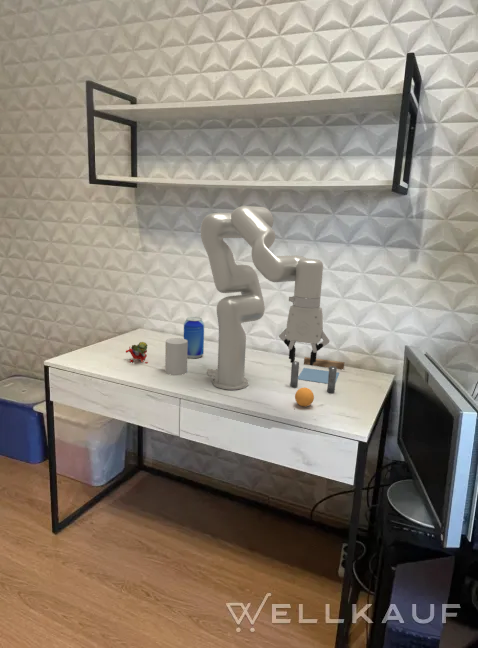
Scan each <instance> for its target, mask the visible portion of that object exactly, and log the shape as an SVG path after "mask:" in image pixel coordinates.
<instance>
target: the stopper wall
mask: <svg viewBox="0 0 478 648" xmlns="http://www.w3.org/2000/svg"><path fill="white" fill-rule="evenodd" d="M303 365H306V366H311V365H310V357H308V356H304V358H303ZM312 366H314V367H320V368H321V367H322V368H327V369H329V367H330V366H334V367H337V370H342V369H343V370H344V369H345V362H343V361H337V360H329V359H322V358H316V362H314V364H313V365H312Z"/></svg>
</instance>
